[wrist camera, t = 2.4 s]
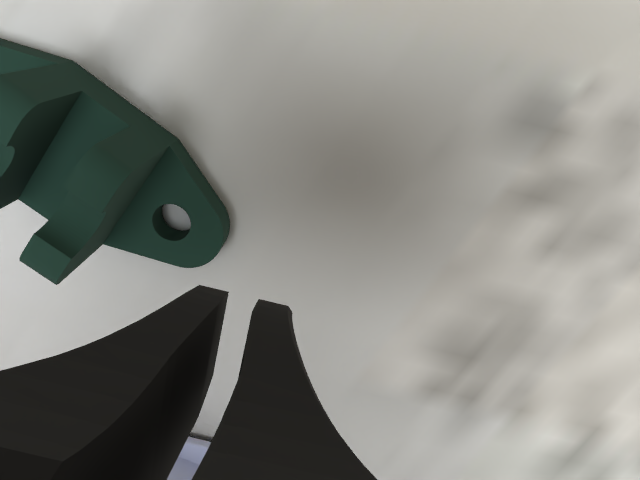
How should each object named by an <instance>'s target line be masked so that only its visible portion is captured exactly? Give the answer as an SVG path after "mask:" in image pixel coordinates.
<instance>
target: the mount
mask: <svg viewBox="0 0 640 480" xmlns="http://www.w3.org/2000/svg"><path fill="white" fill-rule="evenodd" d="M17 199H19V200H20V201H22V202H23V203H25V204H26V205H28V206H29V207H30V208H32V209H33V210H35V211H36V212H38V213H39V214H41V215H42V216H44V217H45V218H47V219H48V221H47V223H46V224H45V225H44V226H43V227H42V228H40V229H39V230H38V231H37V232H36V233H34V234H33V236H32V238H31V239H30V241H29V243H28V244H27V246H26V247H25V249H24V251H23V252H22V254H21V256H20V261H21V262H23V263H24V264H26V265H27V266H29V267H30V268H32V269H33V270H35V271H36V272H38V273H39V274H41V275H42V276H44V277H45V278H47V279H48V280H50V281H51V282H53V283H54V284H56V285H57V284H59V283H60V282H61V281H62V280H63V279H65V278H66V277H67V276H68V275H69V274H70V273H71V272H72V271H73V270H75V269H76V268H77V267H78V266H79V265H80V264H81V263H82V262H83V261H85V260H86V259H87V258H88V257H89V256H90V255H91V254H92V253H93V252H95V251H96V250H97V249H98V248H99V247H100V246H101V245H102V244H104V245H108V246H111V247H114V248H118V249H121V250H125V251H128V252H131V253H135V254H138V255H141V256H145V257H148V258H151V259H155V260H158V261H162V262H165V263H168V264H172V265H175V266H179V267H184V268H194V267H199V266H202V265H205V264H207V263H208V262H210V261H211V260H212V259H214V257H215V256H216V255H217V254H218V252H219V251H220V249H221V247H222V246H223V244H224V242H225V241H226V239H227V237H228V234H229V229H230V221H229V216H228V213H227V210H226V208H225V206H224V205H223V203H222V202H221V200H220V199H219V197H218V196H217V194H216V193H215V191H214V190H213V189H212V187H211V186H210V184H209V183H208V181H207V180H206V178H205V177H204V175H203V174H202V172H201V171H200V170H199V168H198V167H197V165H196V164H195V162H194V161H193V159H192V158H191V156H190V155H189V153H188V152H187V151H186V149H185V148H184V146H183V145H182V143H181V142H180V140H179V139H178V138H177V137H175V136H174V135H172V134H171V133H170V132H168V131H167V130H166V129H164V128H163V127H162V126H160V125H159V124H158V123H156V122H155V121H154V120H152V119H151V118H150V117H148V116H147V115H146V114H144V113H143V112H141V111H140V110H139V109H137V108H136V107H135V106H133V105H132V104H131V103H129V102H128V101H127V100H125V99H124V98H123V97H121V96H120V95H119V94H117V93H116V92H114V91H113V90H112V89H110V88H109V87H108V86H106V85H105V84H104V83H102V82H101V81H100V80H98V79H97V78H96V77H94V76H93V75H92V74H90V73H89V72H87V71H86V70H85V69H83V68H82V67H81V66H79V65H78V64H77V63H75V62H74V61H72V60H69V59H66V58H62V57H59V56H56V55H53V54H49V53H46V52H43V51H40V50H36V49H33V48H30V47H27V46H23V45H20V44H17V43H14V42H10V41H7V40H4V39H1V38H0V209H1V208H3V207H5V206H6V205H8V204H10V203H12V202H14V201H15V200H17ZM164 204H174V205H177V206H180V207H181V208H183V209H184V210H185V211H186V212H187V214H188V215H189V217H190V221H191V228H190V229H189V230H185V231H180V230H176V229H173V228H171V227H170V226H169V225H168V224H167V223H166V222H165V221H164V219H163V216H162V206H163V205H164Z"/></svg>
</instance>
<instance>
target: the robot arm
mask: <svg viewBox="0 0 640 480" xmlns="http://www.w3.org/2000/svg"><path fill="white" fill-rule="evenodd" d="M228 293H229V292H226V291H222V290H218V289H214V288H210V287H205V286H201V285H199V286H197V287H195V288H193V289H192V290H190V291H188V292H186V293H185V294H183V295H181V296H180V297H178V298H177V299H175V300H173V301H172V302H170V303H168V304H167V305H165V306H163V307H162V308H160V309H158V310H157V311H155V312H153V313H151V314H149V315H148V316H146V317H144V318H142V319H141V320H139V321H137V322H135V323H133V324H131V325H129V326H127V327H125V328H123V329H121V330H119V331H116V332H114V333H112V334H110V335H108V336H106V337H104V338H101V339H99V340H97V341H94V342H92V343H89V344H87V345H84V346H82V347H79V348H76V349H73V350H71V351H68V352H65V353H62V354H59V355H56V356H53V357H49V358H46V359H42V360H39V361H35V362H31V363H28V364H24V365H20V366H17V367H13V368H10V369H6V370H1V371H0V480H377V479H376V478H375V477H374V476H373V475H372V474H371V473H370V471H369V470H368V469H367V468H366V467H365V466H364V465H363V464H362V463H361V461H360V460H359V459H358V458H357V457H356V456H355V454H354V453H353V452H352V450H351V449H350V448H349V446H348V445H347V444H346V443H345V441H344V440H343V439H342V437H341V436H340V435H339V433H338V432H337V430H336V429H335V427H334V425H333V424H332V422H331V421H330V419H329V417H328V415H327V414H326V412H325V410H324V409H323V407H322V405H321V403H320V401H319V399H318V397H317V395H316V393H315V391H314V389H313V386H312V384H311V382H310V379H309V377H308V375H307V372H306V369H305V367H304V364H303V361H302V358H301V355H300V352H299V349H298V346H297V342H296V338H295V334H294V329H293V322H292V311H291V310H290V308H289V306H286V305H281V304H277V303H273V302H269V301H265V300H260V299H259V300H258V302H257V303H256V305H255V307H254V309H253V311H252V315H251V320H250V325H249V330H248V335H247V339H246V344H245V349H244V354H243V358H242V363H241V368H240V373H239V378H238V381H237V384H236V386H235V389H234V391H233V394H232V396H231V399H230V401H229V404H228V406H227V408H226V411H225V413H224V415H223V418H222V420H221V422H220V424H219V427H218V429H217V431H216V433H215V435H214V437H213V439H212V441H211V442H209V441H205V440H201V439H196V438H192V437H188V436H189V434H190V432H191V430H192V428H193V426H194V424H195V422H196V420H197V418H198V416H199V413H200V411H201V408H202V405H203V402H204V399H205V397H206V394H207V391H208V388H209V385H210V382H211V379H212V376H213V372H214V367H215V361H216V356H217V351H218V346H219V340H220V335H221V330H222V324H223V319H224V314H225V309H226V303H227V298H228Z"/></svg>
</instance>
